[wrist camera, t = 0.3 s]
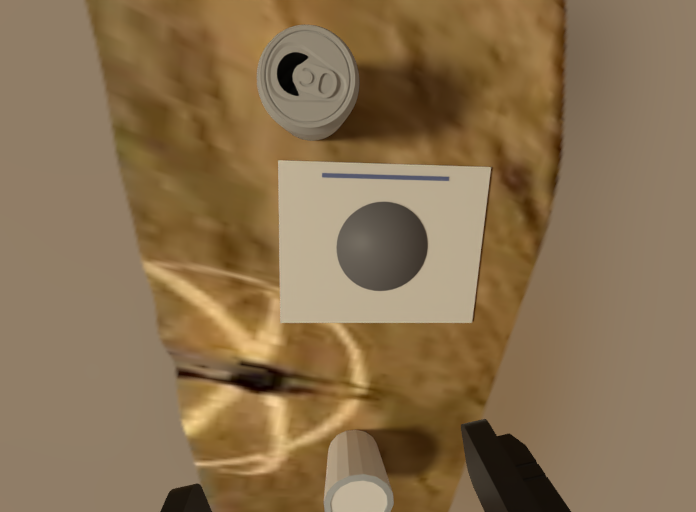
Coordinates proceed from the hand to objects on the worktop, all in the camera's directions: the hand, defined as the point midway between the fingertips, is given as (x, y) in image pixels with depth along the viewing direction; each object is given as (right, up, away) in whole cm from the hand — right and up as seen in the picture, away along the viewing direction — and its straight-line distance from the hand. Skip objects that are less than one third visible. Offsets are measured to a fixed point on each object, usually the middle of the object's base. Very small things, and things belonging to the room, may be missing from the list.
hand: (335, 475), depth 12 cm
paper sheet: (+4, +7, +26) cm, 28 cm away
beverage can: (-3, +20, +23) cm, 31 cm away
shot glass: (+1, -16, +33) cm, 36 cm away
